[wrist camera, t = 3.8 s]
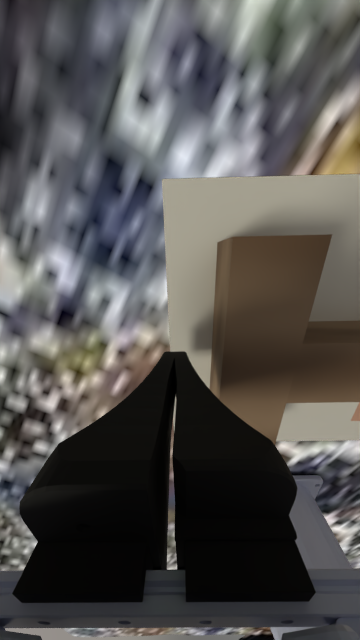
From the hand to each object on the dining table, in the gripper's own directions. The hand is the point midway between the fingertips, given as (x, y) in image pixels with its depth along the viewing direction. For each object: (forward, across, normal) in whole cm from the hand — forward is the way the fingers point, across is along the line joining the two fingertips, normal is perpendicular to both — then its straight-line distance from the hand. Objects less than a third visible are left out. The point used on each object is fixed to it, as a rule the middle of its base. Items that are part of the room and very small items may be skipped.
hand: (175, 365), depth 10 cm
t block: (+2, -10, 0) cm, 10 cm away
